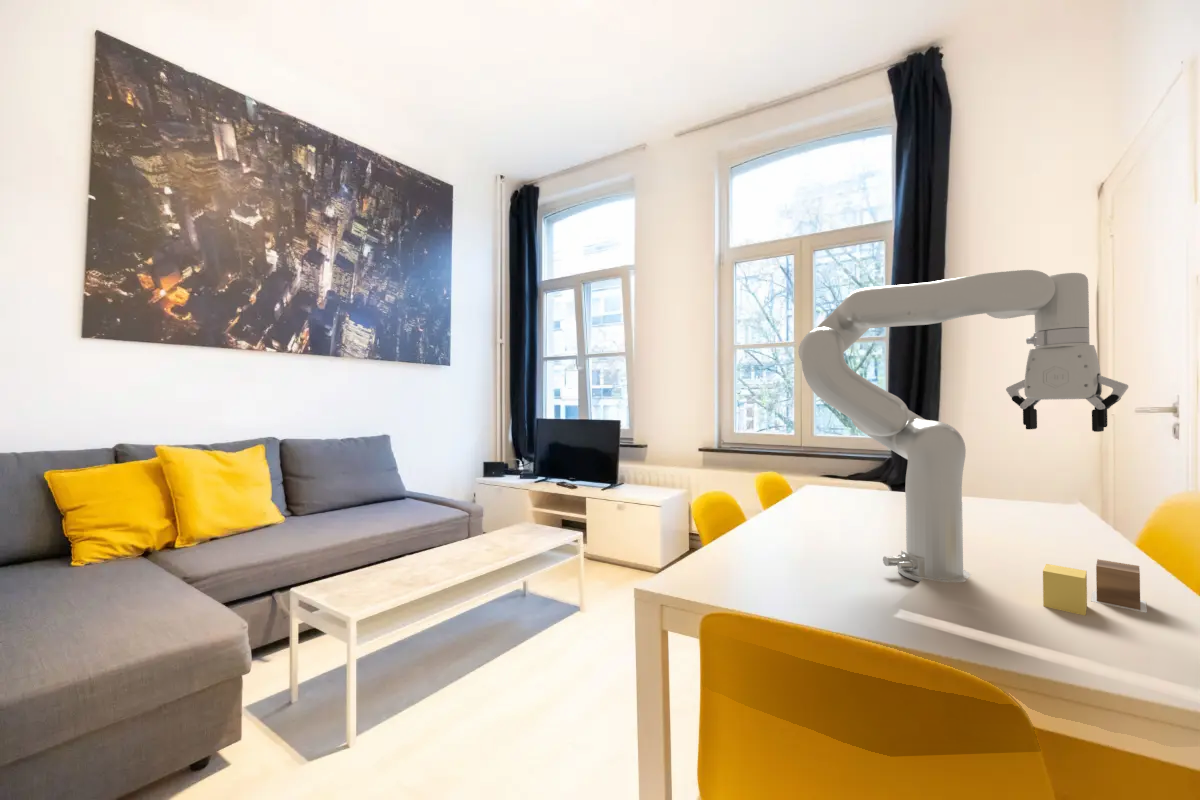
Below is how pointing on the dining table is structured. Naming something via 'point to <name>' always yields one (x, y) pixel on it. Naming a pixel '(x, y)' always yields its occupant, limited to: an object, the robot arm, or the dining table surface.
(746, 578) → the dining table surface
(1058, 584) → the mustard block
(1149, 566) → the dining table surface
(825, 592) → the dining table surface
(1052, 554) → the dining table surface
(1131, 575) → the walnut block
